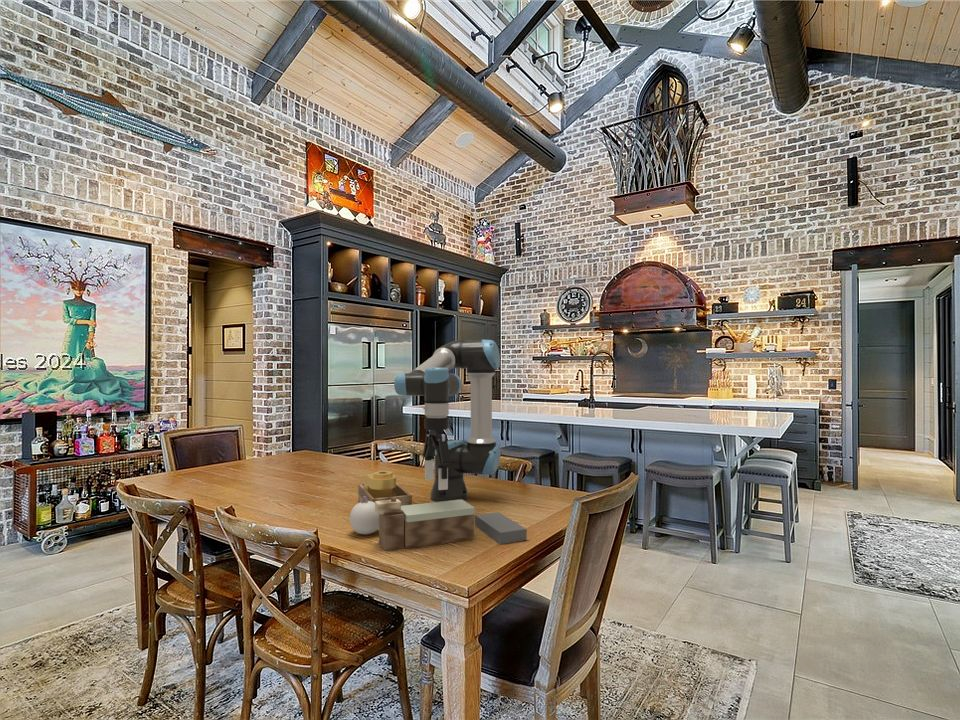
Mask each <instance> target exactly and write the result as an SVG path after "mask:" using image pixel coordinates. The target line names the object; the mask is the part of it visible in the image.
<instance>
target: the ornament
mask: <svg viewBox="0 0 960 720" xmlns="http://www.w3.org/2000/svg"><path fill="white" fill-rule="evenodd" d="M364 500H365V501H364ZM349 522H350V523H349V524H350V526H351V528H352V529H353V531H354V532H355V533H358V534H360V535H371V534H373V533H375V532H376V531H377V530H379V515H378V514H377V513H376V512H375V503H374V502H372V501H368V500H367V497H366V496H364V497H363V499H362V501H361V502H360V503H358V502H357V503H356V504H355V505H354V506H353V507H352V509H351V511H350V515H349Z"/></svg>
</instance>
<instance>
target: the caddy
mask: <svg viewBox="0 0 960 720" xmlns="http://www.w3.org/2000/svg"><path fill="white" fill-rule="evenodd" d="M357 487H358V491H357V492H358V494H357V495H358V496H357V498H358V502H357V504H358V503H360V502H361V501H362V499H363V497H364V496H366V497H367V500H368V501H372V502H374V503H375V501H382V500H391V497H385V498H375V499H374V498H373V497H372V496H371V495H370V493H369V492H368V491H367V490H366V489H365V488H364V483H359V484H358V486H357ZM392 497H396V499H398V500H399V501H401V506H404V505H413V495H412V494H411V493H410V492H409V491H407V490H406V489H405V488H403V486H401V485H400V484H399V483H398V482H397V481H396V487H395V488H393V494H392ZM364 501H365V500H364Z"/></svg>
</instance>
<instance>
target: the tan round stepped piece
mask: <svg viewBox="0 0 960 720" xmlns="http://www.w3.org/2000/svg"><path fill="white" fill-rule="evenodd" d="M396 482H397V476H396V475H395V474H394V472H393V471H390V470H378V471H374V472H373V473H366V474H365V477H364V482H363V484H364V488H365V489H366V490H367V491H368V492H369V493H370V495H371V496H372V497H373V498H374V499H375V498H385V497H392V494H393V488H395V487H396Z"/></svg>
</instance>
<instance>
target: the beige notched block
mask: <svg viewBox="0 0 960 720" xmlns="http://www.w3.org/2000/svg"><path fill="white" fill-rule="evenodd" d="M400 510H401V501H399V500H398V499H396V497H391V500H382V501H375V512H376V513H377V514H378V515H380V514H384V512H391V511H400Z"/></svg>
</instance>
